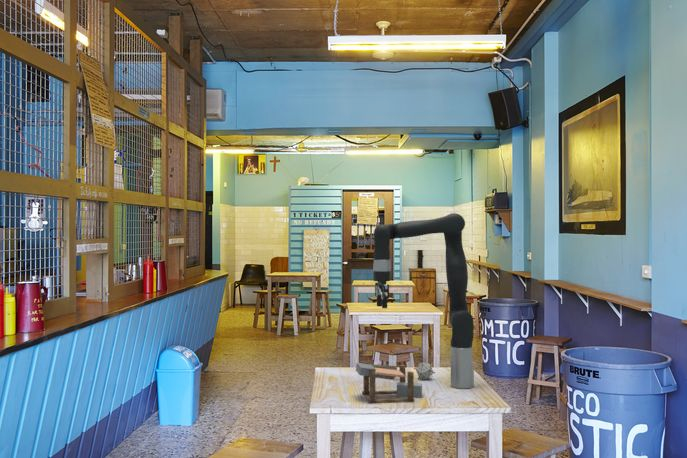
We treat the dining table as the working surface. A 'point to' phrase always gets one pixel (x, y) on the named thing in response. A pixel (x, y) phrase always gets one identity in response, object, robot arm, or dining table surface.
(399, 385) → the slate block
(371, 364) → the marble piece
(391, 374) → the trapdoor
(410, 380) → the frame
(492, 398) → the dining table surface
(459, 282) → the robot arm
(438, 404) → the dining table surface
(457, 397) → the dining table surface
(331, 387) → the dining table surface
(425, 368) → the game die
